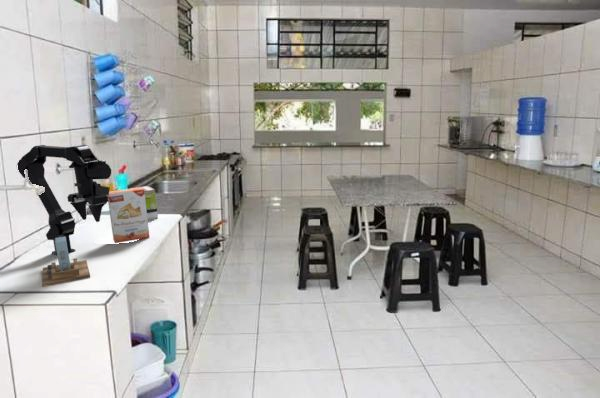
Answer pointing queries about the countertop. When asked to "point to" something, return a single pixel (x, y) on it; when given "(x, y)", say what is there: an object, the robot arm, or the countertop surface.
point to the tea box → (150, 202)
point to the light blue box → (62, 253)
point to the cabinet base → (65, 273)
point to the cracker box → (128, 215)
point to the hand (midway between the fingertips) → (91, 220)
